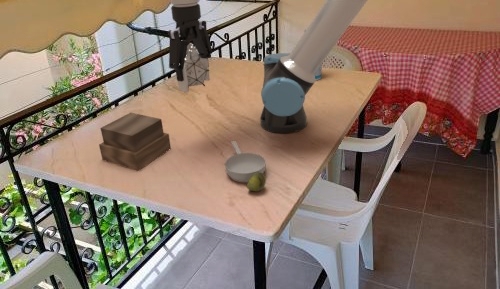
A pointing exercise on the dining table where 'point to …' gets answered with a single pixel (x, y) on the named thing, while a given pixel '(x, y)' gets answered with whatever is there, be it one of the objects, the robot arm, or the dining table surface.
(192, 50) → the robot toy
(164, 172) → the dining table surface
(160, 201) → the dining table surface
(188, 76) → the game die
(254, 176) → the lime
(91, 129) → the dining table surface
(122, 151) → the walnut tower base
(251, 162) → the saucepan
